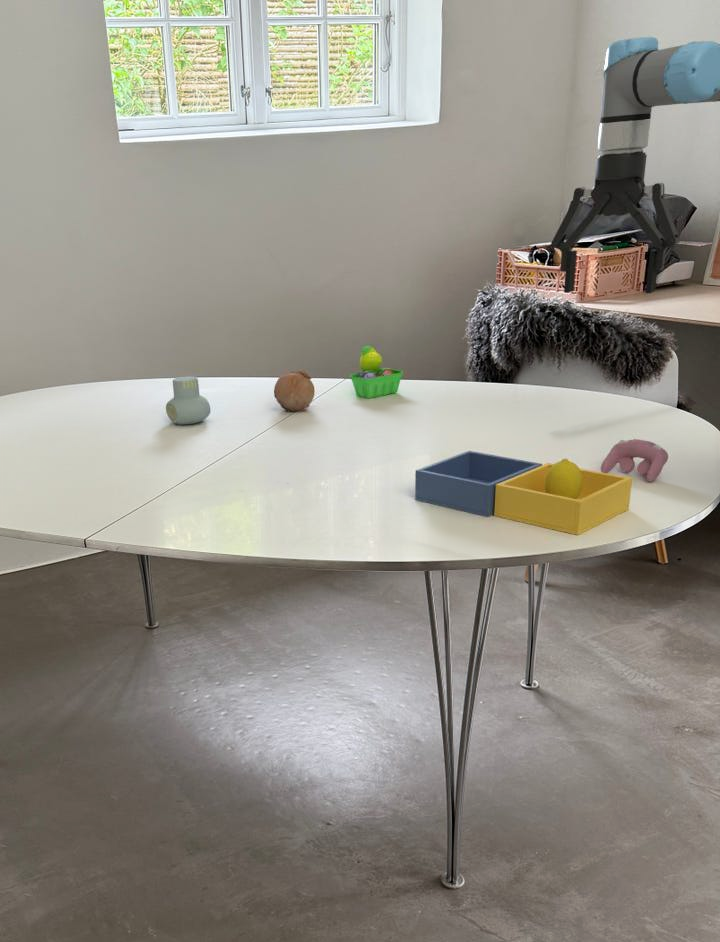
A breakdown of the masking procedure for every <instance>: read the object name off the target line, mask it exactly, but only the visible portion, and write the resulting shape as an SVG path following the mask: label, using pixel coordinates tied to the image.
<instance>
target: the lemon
mask: <svg viewBox="0 0 720 942" xmlns="http://www.w3.org/2000/svg"><path fill="white" fill-rule="evenodd" d="M553 464H554V465H552V466H551V467H550V469H549V470H548V472H547V475H546V478H545V484H544V489H545V493H548V494H553V495H558V496H563V497H568V498H573V499H577V498H578V496H579V495H580V492H581V489H582V475H581V472H580V469H581V468H580V466H578V465H577V464H576V463H574V462H573V461H571V460H569V459H568V458H562V459H561V460H559V461H556V462H555V463H553ZM579 468H580V469H579Z"/></svg>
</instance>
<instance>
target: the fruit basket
mask: <svg viewBox="0 0 720 942" xmlns="http://www.w3.org/2000/svg"><path fill="white" fill-rule="evenodd" d="M360 354H361V355H360V359H359V367H360V370H362V371H361V372H357V373H353V374H350V375H349V378H350V379H351V383H352V385H353V388H354V392H355V396H357V397H360V398H364V399H365V398H366V399H372V398H377V397H382V396H386V395H390V393H391V394H395V393H396V392H397V393H398V391H399V386H400V383H401V379H402V377H403V375H404V371H403V370H398V369H393V368H388V367H381V364H382V362H383V357H382V356H381V354H380V353H378V352H377V351H376V350H375V348H373V347H372V346H370V345H366V346H363V347H362V349H361V353H360Z"/></svg>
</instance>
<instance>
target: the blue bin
mask: <svg viewBox="0 0 720 942" xmlns="http://www.w3.org/2000/svg"><path fill="white" fill-rule="evenodd" d="M542 465H543V463H539V462H534V461H529V460H524V459H519V458H512V457H507V456H502V455H501V456H500V455H497V454H496V455H495V454H491V453H490V454H489V453H485V452H480V451H472V450H467V451H464V452H461V453H459V454H456V455H453V456H450V457H448V458H446V459H442V460H440V461H437V462H434V463H432V464H429V465H426V466H423V467H420V468H417V469H416V470H415V479H414V480H415V482H414V483H415V484H414V485H415V487H414V488H415V489H414V495H415V496H414V500H415V501H419V502H423V503H428V504H432V505H435V506H440V507H444V508H449V509H453V510H457V511H462V512H467V513H471V514H474V515H479V516H482V517H490V516H494V509H495V489H496V484H498V483H501V482H503V481H506V480H508V479H511V478H513V477H515V476H518V475H520V474H523V473H525V472H527V471H530V470H532V469H535V468H537V467H540V466H542Z"/></svg>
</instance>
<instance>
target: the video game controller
mask: <svg viewBox="0 0 720 942" xmlns="http://www.w3.org/2000/svg"><path fill="white" fill-rule="evenodd" d="M634 458H638V459H643V460H642V461H640V462H639V463H638V464H637V467H636V462H635V460H634ZM668 459H669V454H668V451H667V450H666V449H664V448H663V447H661V446H660V444H657V443H655V442H652V441H649V440H644V439H637V438H636V439H635V438H633V439H629V440H628V439H625V440H624V439H621V440H619V441H618V443H617V442H616V443H614V445H613V446H612V448H611V449H610V451H609V452H608V453H607V455H606V456H605V458H604V459H603V461H602V462H601V467H600V472H602V473H608V474H609V473H610V472H611V471H612V470H613V469H614V467H616V465H617V464H619V469H620V471H621V472H623V473H631V472H633V471H634V470H635V468H636V473H638V474H639V475H640V476H643V477H646V480H647V482H649V483H652V482H654V481H655V480H656V479H658V478H659V476H660V474H661V472H662V470H663V468H664V466H665V465H666V463H667V462H668Z"/></svg>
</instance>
